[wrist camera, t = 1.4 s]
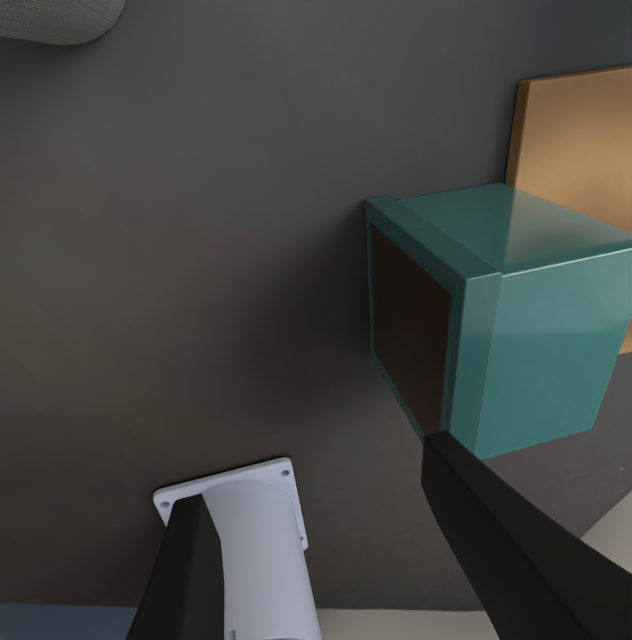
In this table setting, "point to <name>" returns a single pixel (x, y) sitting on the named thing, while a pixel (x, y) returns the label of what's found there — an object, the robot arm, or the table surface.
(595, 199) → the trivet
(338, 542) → the table surface
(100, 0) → the planter
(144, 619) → the robot arm
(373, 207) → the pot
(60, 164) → the table surface
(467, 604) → the table surface
